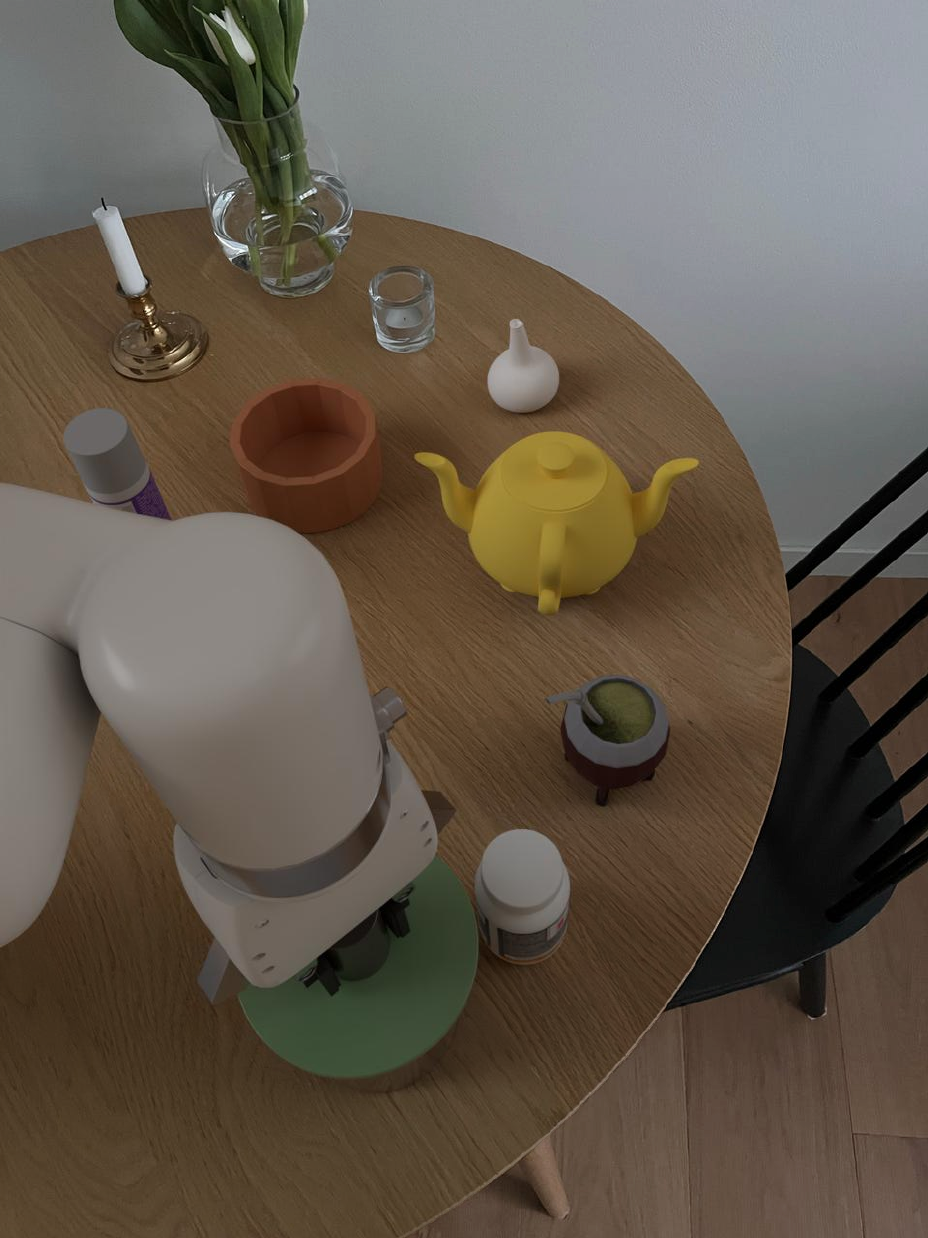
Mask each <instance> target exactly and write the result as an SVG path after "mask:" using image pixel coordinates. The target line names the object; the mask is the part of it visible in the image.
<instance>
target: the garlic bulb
mask: <svg viewBox="0 0 928 1238" xmlns="http://www.w3.org/2000/svg"><path fill="white" fill-rule="evenodd" d="M509 329H510V332H509V347H508V349H506V350H504V351H503V352H502V353H500V354H499V355H498V356H497V357H496V358H495V359H494V361H493V362H492V364H491V365H490V368H489V370H488V373H487V389H488V392H489V396H490V397H491V399H492V400H493V401H494V403H495V404H496V405H497V406H498V407H500V408H502V409H504V410H506V411H509V412H512V413H517V414H525V413H531V412H535V411H538V410H540V409H542V408H543V407H545V406H546V405H547V404H549V403H550V402H551V401H552V399H554V397H555V396H556V394H557V392H558V389H559V385H560V372H559V368H558V365H557V363H556V362H555V360H554V358H553V357H552V356H551V355H550V354H549V353H548V352H547V351H545V350H543V348H540V347H536V346H533V345H531V344H530V341H529V338H528V335H527V332H526V328H525V327H524V322H523V321H521V320H520V319H519V318H513V319H511V320H510V321H509Z"/></svg>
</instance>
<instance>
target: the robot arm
mask: <svg viewBox="0 0 928 1238" xmlns="http://www.w3.org/2000/svg"><path fill="white" fill-rule="evenodd" d="M353 625H354V624H353V620H352V617H351V614H350V609H349V606H348V602H347V599H346V596H345V593H344V590H343V588H342V585H341V583H340V580H339V578H338V576H337V574H336V572H335V570H334V568H333V567H332V566H331V564H330V563H329V561H328V560H327V558H326V557H325V556H324V554H323V553H322V552H321V551H320V550H319V549H318V548H317V547H316V546H315V545H314V544H313V543H312V542H311V541H310V540H308V539H307V538H306V537H304V536H303V535H302V534H301V533H298V532H295V531H294V530H292V529H291V528H289V527H288V526H285V525H283V524H281V523H278V522H276V521H274V520H271V519H267V518H263V517H260V516H259V515H256V514H251V513H247V512H245V513H244V512H235V511H214V512H213V511H212V512H204V513H199V514H192V515H187V516H183V517H181V518H178V519H175V520H172V519H171V520H167V519H161V518H156V517H151V516H146V515H141V514H136V513H131V512H126V511H121V510H117V509H113V508H109V507H105V506H101V505H97V504H93V502H88V501H85V500H80V499H77V498H73V497H68V496H65V495H60V494H56V493H52V492H49V491H45V490H41V489H36V488H31V487H27V486H22V485H17V484H12V483H8V482H0V948H2V947H5V946H6V945H7V944H9V943H10V942H13V940H15V939H17V938H19V937H20V936H21V935H22V934H24V933H25V932H26V931H27V930H28V929H29V928H30V927H31V926H32V925H33V923H34V922H35V921H36V920H37V919H38V917H40V915H41V913H42V911H43V910H44V908H45V907H46V905H47V903H48V902H49V899H50V897H51V895H52V893H53V891H54V889H55V888H56V885H57V883H58V880H59V877H60V875H61V871H62V868H63V865H64V861H65V859H66V854H67V851H68V849H69V848H68V847H69V844H70V839H71V837H72V832H73V828H74V823H75V819H76V816H77V811H78V808H79V803H80V799H81V796H82V791H83V788H84V785H85V784H84V783H85V779H86V777H87V776H86V775H87V771H88V767H89V763H90V759H91V755H92V751H93V747H94V743H95V738H96V734H97V731H98V726H99V722H100V719H101V715H102V716H103V718H104V719H105V720H106V722H107V723H108V725H109V726H110V728H111V729H112V730H113V732H114V734H115V735H116V737H117V738H118V739H119V741H120V742H121V744H122V745H123V747H124V748H125V750H126V751H127V753H128V754H129V755H130V757H131V758H132V760H133V761H134V763H135V764H136V765H137V767H138V769H139V770H140V772H141V773H142V774H143V775H144V777H145V778H146V780H147V781H148V783H149V784H150V785H151V787H152V789H153V790H154V791H155V793H156V794H157V796H158V798H159V799H160V801H161V802H162V803H163V804H164V806H165V808H166V809H167V810H168V811H169V813H170V815H171V816H172V818H173V819H174V821H175V822H176V824H175V826H174V829H173V841H172V842H173V854H174V860H175V865H176V868H177V872H178V875H179V878H180V881H181V883H182V886H183V888H184V890H185V893H186V894H187V896H188V899H189V900H190V902H191V903H192V905H193V907H194V908H195V911H196V912H197V914H198V915H199V917H200V919H201V920H202V922H203V923H204V925H205V926H206V928H207V929H208V931H209V932H210V934H211V935H212V936H213V939H212V942H211V944H210V947H209V949H208V952H207V955H206V957H205V959H204V962H203V965H202V967H201V970H200V972H199V975H198V978H197V980H196V983H197V985H198V986H199V988H200V989H201V991H202V992H203V994H204V996H205V997H206V999H207V1000H208V1002H209V1003H210V1004H211V1006H217V1005H219V1004H221V1003H222V1002H225V1001H227V1000H229V999H231V998H232V997H234V996H236V995H238V993H240V992H242V991H244V990H246V989H247V987H248V985H249V984H252V985H254V986H255V987H262V988H271V987H276V986H278V985H279V984H281V983H283V982H285V981H286V980H288V979H289V978H291V977H293V979H294V980H295V982H296V983H297V984H299V983H302V982H303V984H304V985H305V986H306V988H308V987H309V986H311V985H312V984H313V983H314V982H316V981H317V980H319V981H320V982H321V984H322V985H323V986H324V988H325V989H326V990H327V992H328V993H329V994H330V996H331V997H332V996H333V995H334V994H335V993H337V992H338V991H339V988H338V987H340V986H341V984H340V982H339V980H338V978H337V976H336V974H335V972H334V970H333V969H332V967H331V965H330V964H329V962H328V961H327V960H326V958H325V957H324V956H323V954H322V953H323V952H325V951H326V950H327V949H328V948H330V947H331V946H332V945H333V944H335V943H336V942H337V941H338V940H340V939H341V938H342V937H343V936H345V935H346V934H347V933H348V932H350V931H351V930H352V929H353V928H355V927H356V926H357V925H358V924H360V923H361V922H362V921H363V920H365V919H366V918H367V917H368V916H369V915H371V914H372V913H373V912H374V911H376V910H377V909H378V908H379V907H380V909H381V912H382V914H383V917H384V920H385V923H386V925H387V926H388V927H389V928H390V930H391V931H392V932H393V933H394V935H395V936H396V937H397V938H399V937H400V936H401V937H402V938H403V937H405V936H406V935H407V934H408V933H409V932H411V931H410V927H409V924H408V920H407V917H406V914H405V910H404V909H405V908H406V907H408V906H409V905H410V902H409V899H408V897H409V896H410V895H411V894H412V893H413V892H414V890H415V888H416V886H415V884H414V883H413V882H412V880H413V879H414V878H415V877H416V876H418V875H419V874H420V873H421V872H422V871H423V870H424V869H425V868H426V867H427V866H428V865H429V864H430V863H431V861H432V860H433V859H434V856H435V855H436V853H437V849H438V840H439V839H438V837H439V836H438V835H440V834H441V832H442V831H443V830H444V829H445V827H446V826H447V825H448V824H449V823H451V821H452V819H453V818H454V817H455V816H456V814H457V812H458V809H457V808H455V806H454V805H453V804H452V803H451V802H450V801H449V800H448V798H446V796H445V795H444V794H443V793H442V792H441V791H437V790H426V789H421V787H420V786H419V784H418V781H417V780H416V778H415V776H414V775H413V773H412V770H411V769H410V767H409V766H408V764H407V763H406V761H405V760H404V758H403V757H402V755H401V754H400V753H399V751H398V749H397V748H396V747H395V746H394V744H393V742H392V741H391V736H390V735H389V733H390V732H392V731H394V729H395V724H397V723H398V722H399V721H401V720H402V719H404V718H405V717H406V716H407V715H408V710H407V707H406V706H405V703H404V702H403V700H402V699H401V697H400V696H399V695H398V694H397V692H396V691H394V690H393V689H392V688H391V687H390V686H387V685H386V686H384V688H382V689H381V690H379V691H378V692H377V693H375V694H374V695H372V694H370V690H369V686H368V683H367V678H366V675H365V671H364V665H363V662H362V658H361V654H360V649H359V645H358V642H357V638H356V633H355V630H354V626H353Z"/></svg>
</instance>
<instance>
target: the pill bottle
mask: <svg viewBox="0 0 928 1238" xmlns="http://www.w3.org/2000/svg"><path fill="white" fill-rule="evenodd" d="M571 892H572V891H571V881H570V876H569V872H568V869H567V867H566V864H565V863H564V861H563V858H562V856H561V853H560V851H559V849H558V847H557V846H556V845H555V844H554V842H553V841H551V840H550V838H548V837H547V836H546V835H544V834H543V833H540V832H538V831H537V830H532V829H527V828H515V829H510V830H507V831H504V832H502V833H500V834H498V835H497V836H496V837H494V839H492V840H491V841H490V842H489V844H488V845H487V847H486V848H485V850H484V852H483V854H482V857H481V861H480V863H479V865H478V868H477V869H476V872H475V876H474V897H475V904H476V910H477V912H476V913H477V920H478V921H477V923H478V928H479V930H480V934H481V937H482V939H483V941H484V943H485V944H486V946H487V947H488V948H489V950H490V951H491V952H492V953H493V954H494V955H495V956H497V957H498V958H500V959H501V960H503V961H505V962H507V963H509V964H515V965H521V966H522V965H523V966H524V965H525V966H527V965H533V964H534V965H535V964H538V963H540V962H543V961H545V960H546V959H548V958H550V957H551V956H552V955H553V954H555V953H556V952H557V950H558V949H559V948H560V946H561V945H562V943H563V941H564V940H565V937H566V934H567V930H568V924H569V913H570V912H569V911H570V910H569V909H570V900H571V899H570V897H571Z"/></svg>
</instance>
